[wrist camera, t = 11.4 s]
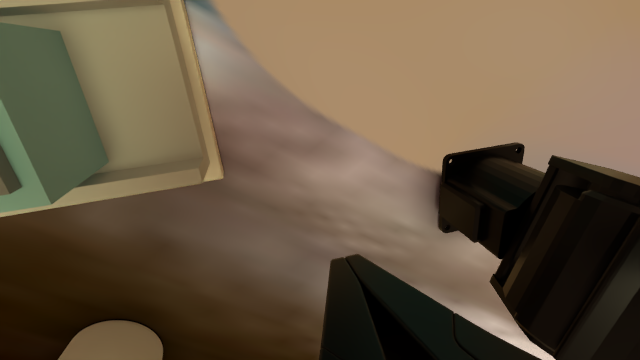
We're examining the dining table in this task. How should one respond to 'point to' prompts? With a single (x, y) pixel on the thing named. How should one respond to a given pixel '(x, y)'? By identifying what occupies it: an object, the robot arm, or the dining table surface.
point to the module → (42, 120)
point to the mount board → (132, 92)
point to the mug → (114, 342)
